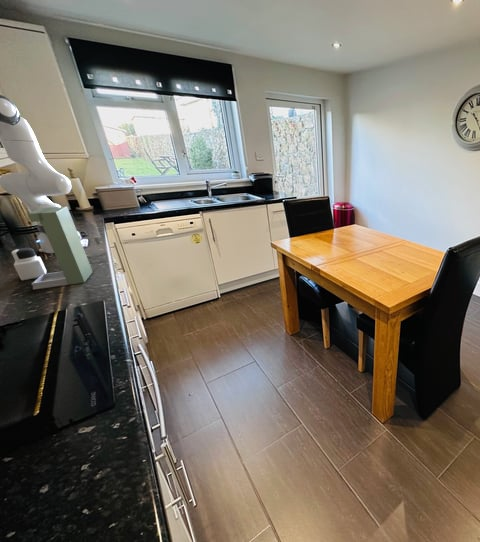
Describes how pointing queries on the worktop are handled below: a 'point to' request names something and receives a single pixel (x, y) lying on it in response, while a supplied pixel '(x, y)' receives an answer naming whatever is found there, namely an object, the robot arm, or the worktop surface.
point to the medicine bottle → (28, 264)
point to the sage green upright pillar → (62, 248)
